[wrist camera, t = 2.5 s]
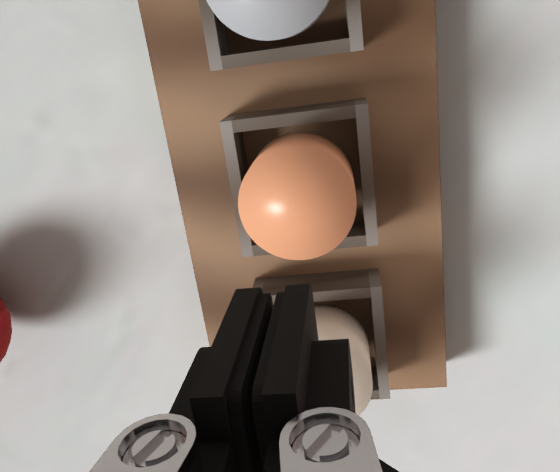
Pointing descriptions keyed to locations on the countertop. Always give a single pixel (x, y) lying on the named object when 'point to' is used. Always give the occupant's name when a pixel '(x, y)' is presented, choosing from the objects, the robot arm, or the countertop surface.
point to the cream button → (346, 326)
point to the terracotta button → (298, 197)
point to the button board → (340, 130)
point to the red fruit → (4, 329)
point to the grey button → (268, 16)
